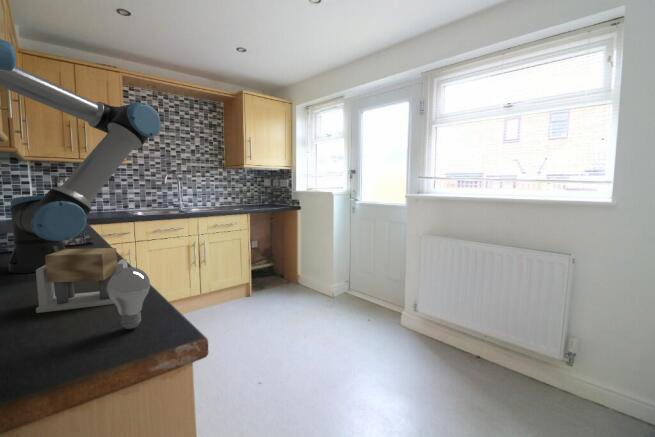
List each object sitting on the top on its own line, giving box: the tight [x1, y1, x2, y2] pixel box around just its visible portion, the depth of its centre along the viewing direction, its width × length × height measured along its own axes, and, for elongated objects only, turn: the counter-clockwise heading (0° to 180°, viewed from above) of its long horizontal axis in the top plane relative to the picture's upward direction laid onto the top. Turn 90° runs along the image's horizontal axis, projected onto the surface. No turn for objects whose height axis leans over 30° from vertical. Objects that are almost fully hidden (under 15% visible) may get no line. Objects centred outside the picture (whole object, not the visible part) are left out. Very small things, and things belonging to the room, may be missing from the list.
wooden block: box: [45, 247, 118, 283], centre depth 73 cm, size 11×7×6 cm, turn 101°
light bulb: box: [107, 266, 151, 331], centre depth 60 cm, size 7×7×12 cm
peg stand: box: [35, 258, 128, 314], centre depth 74 cm, size 8×16×9 cm, turn 113°
